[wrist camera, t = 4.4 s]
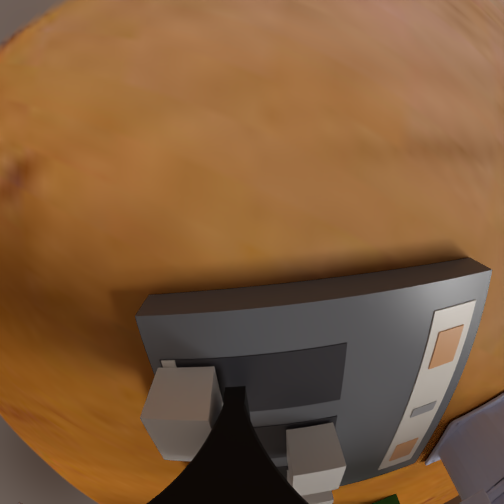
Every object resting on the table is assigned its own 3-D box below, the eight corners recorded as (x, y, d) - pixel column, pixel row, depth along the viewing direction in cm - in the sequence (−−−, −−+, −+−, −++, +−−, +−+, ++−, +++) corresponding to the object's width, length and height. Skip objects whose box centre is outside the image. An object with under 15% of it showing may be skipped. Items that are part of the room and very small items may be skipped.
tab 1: (214, 366, 11) (208, 420, 8) (225, 411, 12) (222, 461, 9) (157, 367, 11) (140, 418, 8) (174, 411, 12) (164, 459, 9)
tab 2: (324, 464, 14) (333, 499, 11) (321, 481, 15) (328, 513, 12) (286, 470, 14) (291, 507, 11) (287, 486, 15) (291, 519, 12)
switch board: (469, 257, 12) (493, 270, 10) (407, 447, 18) (415, 463, 16) (148, 294, 12) (133, 318, 10) (215, 480, 18) (214, 500, 16)
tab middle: (332, 422, 13) (346, 466, 10) (328, 449, 13) (338, 488, 11) (286, 429, 13) (293, 475, 10) (286, 456, 13) (292, 496, 11)
